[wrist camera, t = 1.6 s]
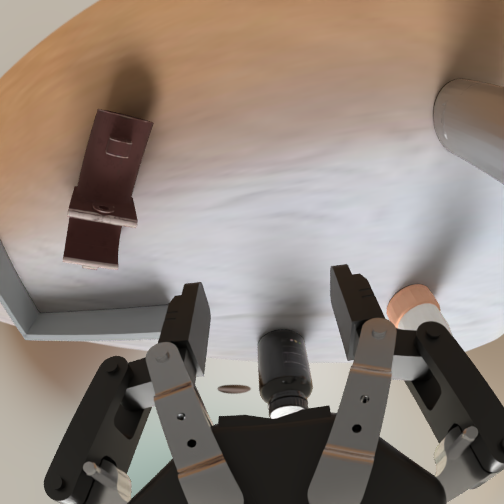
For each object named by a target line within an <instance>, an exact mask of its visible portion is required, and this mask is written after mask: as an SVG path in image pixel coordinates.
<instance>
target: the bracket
mask: <svg viewBox="0 0 504 504" xmlns="http://www.w3.org/2000/svg"><path fill="white" fill-rule="evenodd" d="M152 126H153V122H150V121H147V120H143V119H140V118H136V117H132V116H128V115H124V114H120V113H116V112H111V111H106V110H101V109H98V111H97V114H96V117H95V120H94V124H93V127H92V130H91V134H90V137H89V141H88V145H87V149H86V152H85V156H84V160H83V165H82V169H81V173H80V178H79V182H78V187H77V186H75V187H74V191H73V194H72V198H71V202H70V205H69V209H68V215H67V217H70V218H69V224H68V231H67V237H66V243H65V250H64V256H63V262H66V263H73V264H79V265H82V268H87V269H94V270H97V268H98V267H100V268H107V269H115V270H118V248H119V239H120V233H121V228H122V226H125V227H131V228H136V227H137V216H136V211H135V206H134V202H133V198H132V197H131V196H132V192H133V188H134V185H135V181H136V177H137V174H138V170H139V167H140V164H141V160H142V157H143V154H144V151H145V147H146V144H147V141H148V138H149V135H150V132H151V129H152Z"/></svg>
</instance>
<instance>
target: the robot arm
mask: <svg viewBox="0 0 504 504" xmlns="http://www.w3.org/2000/svg"><path fill="white" fill-rule="evenodd" d="M433 118H434V126H435V130H436V134H437V136H438V138H439V140H440V142H441V143H442V145H443V146H444V147H445V148H446V149H447V150H448V151H449V152H451V153H453V154H455V155H456V156H458V157H460V158H462V159H463V160H465V161H467V162H469V163H470V164H472V165H473V166H475V167H477V168H478V169H480V170H482V171H483V172H485V173H486V174H488V175H490V176H491V177H493V178H494V179H496V180H497V181H499V182H501V183H502V184H504V87H501V86H497V85H492V84H488V83H483V82H478V81H472V80H466V79H456V80H453V81H451V82H449V83H448V84H446V85H445V86H444V87H443V88H442V90H441V91H440V92H439V94H438V97H437V99H436V102H435V106H434V115H433ZM330 296H331V303H332V308H333V311H334V314H335V318H336V321H337V325H338V328H339V332H340V335H341V339H342V342H343V346H344V349H345V353H346V357H347V360H348V361H350V360H354V362H353V365H352V366H351V369H350V372H349V376H348V379H347V382H346V386H345V389H344V392H343V396H342V399H341V403H340V406H339V409H338V412H337V413H331V412H330V407H329V406H323V407H316V408H309V409H302V410H299V411H296V412H293V413H291V414H288V415H285V416H282V417H279V418H275V419H270V418H263V417H256V416H248V415H236V416H219V422H218V424H215V425H213V423H212V421H211V419H210V417H209V415H208V412H207V411H206V408H205V406H204V404H203V401H202V399H201V397H200V395H199V393H198V390H197V388H196V386H195V380H196V377H197V376H204V370H205V362H206V353H207V345H208V337H209V329H210V320H211V315H210V308H209V305H208V301H207V298H206V295H205V291H204V288H203V285H202V283H201V282H197V283H188V284H185V285H184V288H183V292H182V295H179V296H175V297H174V298H173V299H172V300H171V302H170V303H169V305H168V308H167V314H166V315H165V320H164V323H163V326H162V330H161V334H160V337H159V341H158V344H156V345H154V346H153V347H151V348H150V349H149V351H148V352H147V354H146V357H145V358H143V359H140V360H136V361H133V362H129V363H128V362H127V361H126V359H125V358H123V357H120V356H113V357H110V358H108V359H106V360H105V361H104V362H103V363H102V364H101V365H100V367H99V369H98V371H97V372H96V374H95V376H94V378H93V380H92V382H91V384H90V385H89V388H88V389H87V391H86V393H85V395H84V397H83V399H82V401H81V403H80V405H79V407H78V409H77V411H76V413H75V415H74V417H73V419H72V421H71V423H70V425H69V427H68V429H67V431H66V433H65V435H64V437H63V439H62V441H61V443H60V445H59V448H58V450H57V452H56V454H55V456H54V459H53V461H52V463H51V465H50V467H49V469H48V472H47V474H46V477H45V479H44V488H45V491H46V493H47V495H48V496H49V497H50V498H51V499H53V500H55V501H57V502H59V503H61V504H446V503H447V502H449V501H450V500H452V499H454V498H455V497H457V496H459V495H460V494H462V493H463V492H465V491H466V490H468V489H475V488H477V487H479V486H481V485H482V484H484V483H485V482H487V481H488V480H490V479H491V478H492V477H494V476H495V475H496V474H498V473H499V472H501V471H502V470H503V469H504V407H503V405H502V404H501V402H500V401H499V399H498V398H497V396H496V395H495V394H494V392H493V391H492V389H491V388H490V386H489V385H488V383H487V382H486V381H485V379H484V378H483V376H482V375H481V374H480V372H479V371H478V369H477V368H476V367H475V365H474V364H473V362H472V361H471V360H470V358H469V357H468V356H467V354H466V353H465V352H464V350H463V349H462V348H461V347H460V345H459V344H458V343H457V341H456V340H455V339H454V337H453V336H452V335H451V334H450V332H449V331H448V330H447V329H446V327H445V326H443V325H442V324H440V323H438V322H434V321H428V322H424V323H422V324H421V325H420V326H419V327H418V328H417V331H416V330H402V329H398V328H396V327H395V325H394V324H393V323H392V322H391V321H389V320H387V319H385V317H384V315H383V313H382V310H381V308H380V306H379V304H378V301H377V299H376V297H375V296H374V293H373V291H372V289H371V286H370V284H369V282H368V280H367V279H366V278H364V277H363V276H362V275H361V274H354V275H352V273H351V271H350V269H349V267H348V265H347V264H344V265H337V266H331V269H330ZM391 379H393V380H404V381H405V383H406V385H407V386H408V388H409V390H410V392H411V393H412V395H413V397H414V398H415V400H416V402H417V404H418V405H419V407H420V409H421V411H422V413H423V415H424V416H425V418H426V420H427V422H428V423H429V425H430V427H431V429H432V431H433V433H434V435H435V437H436V438H437V440H438V442H439V445H438V446H437V448H436V450H435V453H434V460H435V463H436V474H435V476H434V475H432V474H431V473H429V472H428V471H427V470H425V469H423V468H422V467H421V466H419V465H418V464H417V463H415V462H414V461H412V460H411V459H409V458H408V457H407V456H405V455H404V454H402V453H401V452H400V451H398V450H397V449H396V448H394V447H393V446H391V445H390V444H389V443H387V442H386V441H385V440H383V439H382V438H380V437H379V436H380V432H381V427H382V423H383V418H384V414H385V409H386V404H387V399H388V394H389V388H390V383H391ZM152 406H156V410H157V413H158V416H159V419H160V422H161V425H162V428H163V431H164V434H165V437H166V440H167V443H168V446H169V449H170V451H171V455H172V457H173V459H172V460H171V461H170V462H169V463H168V464H167V465H166V466H165V467H164V468H163V469H162V470H161V471H160V472H159V473H158V474H157V475H156V476H155V477H154V478H153V479H152V480H151V481H150V482H149V483H148V484H147V485H146V486H145V487H143V488H142V489H141V490H140V491H139V492H138V493H137V494H136V495H135V496H134V497H133V498H132V499H131V480H130V478H129V476H128V475H127V472H128V469H129V466H130V464H131V461H132V458H133V455H134V453H135V450H136V447H137V445H138V442H139V439H140V436H141V434H142V431H143V429H144V426H145V424H146V421H147V418H148V416H149V413H150V411H151V408H152Z"/></svg>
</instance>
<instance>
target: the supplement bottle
mask: <svg viewBox="0 0 504 504" xmlns="http://www.w3.org/2000/svg"><path fill="white" fill-rule="evenodd" d="M258 372H259V391H260V396H261V397H262V399H263V400H264V401H265V402H266V403H268V409H269V417H270V419H275V418H279V417H282V416H285V415H288V414H291V413H293V412H296V411H299V410H302V409H308V401H307V398H308V397H309V396H310V394H311V392H312V389H313V386H312V379H311V373H310V368H309V363H308V358H307V352H306V347H305V343H304V340H303V338H302V337H301V336H300V335H299V334H298V333H296V332H294V331H291V330H275V331H272V332H270V333H268V334H266V335H265V336H263V337H262V338H261V340H260V341H259V343H258Z"/></svg>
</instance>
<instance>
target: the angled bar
mask: <svg viewBox="0 0 504 504" xmlns="http://www.w3.org/2000/svg"><path fill="white" fill-rule="evenodd" d="M0 302H1V304H2V305H3V307H4V308H5V310H6V312H7V313H8V315H9V316H10V318H11V319H12V321H13V322H14V324H15V325H16V327H17V328H18V330H19V331H20V333H21V334H22V336H23V337H24V338H25V340H42V341H124V340H151V339H159V337H160V334H161V330H162V326H163V323H164V320H165V315H166V314H167V308H168V305H160V306H148V307H135V308H122V309H108V310H92V311H75V312H55V313H39V312H38V310H37V308H36V307H35V305H34V303H33V302H32V300H31V298H30V296H29V295H28V293H27V291H26V289H25V288H24V286H23V284H22V282H21V280H20V279H19V277H18V275H17V273H16V271H15V269H14V267H13V265H12V263H11V261H10V259H9V257H8V255H7V253H6V251H5V249H4V247H3V245H2V243H1V240H0Z"/></svg>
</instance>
